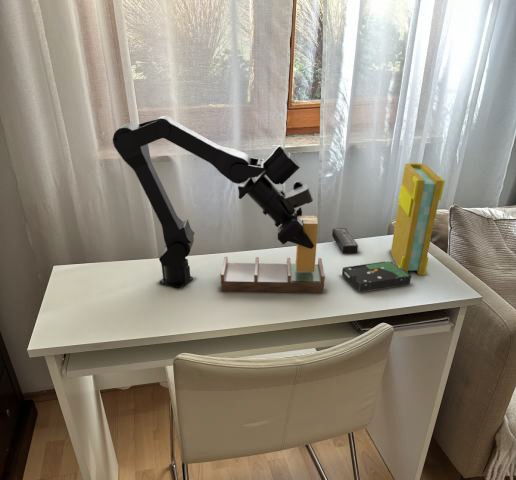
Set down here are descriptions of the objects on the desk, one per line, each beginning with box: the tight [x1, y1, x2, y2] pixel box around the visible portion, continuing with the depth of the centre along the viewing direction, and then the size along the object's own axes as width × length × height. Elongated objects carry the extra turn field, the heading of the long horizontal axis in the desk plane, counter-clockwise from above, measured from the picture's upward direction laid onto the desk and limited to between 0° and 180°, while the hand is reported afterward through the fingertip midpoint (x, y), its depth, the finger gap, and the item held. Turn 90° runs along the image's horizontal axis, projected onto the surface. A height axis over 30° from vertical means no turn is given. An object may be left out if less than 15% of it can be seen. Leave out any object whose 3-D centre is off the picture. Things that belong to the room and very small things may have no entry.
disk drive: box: [341, 261, 412, 293], centre depth 130 cm, size 10×3×15 cm
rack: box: [220, 256, 326, 294], centre depth 128 cm, size 26×11×5 cm, turn 88°
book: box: [390, 162, 446, 276], centre depth 134 cm, size 17×7×25 cm, turn 179°
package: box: [295, 215, 319, 272], centre depth 124 cm, size 4×6×13 cm
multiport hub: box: [331, 227, 359, 254], centre depth 151 cm, size 4×14×2 cm, turn 6°
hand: (311, 242), depth 123 cm, fingers closed on package, 5 cm apart
